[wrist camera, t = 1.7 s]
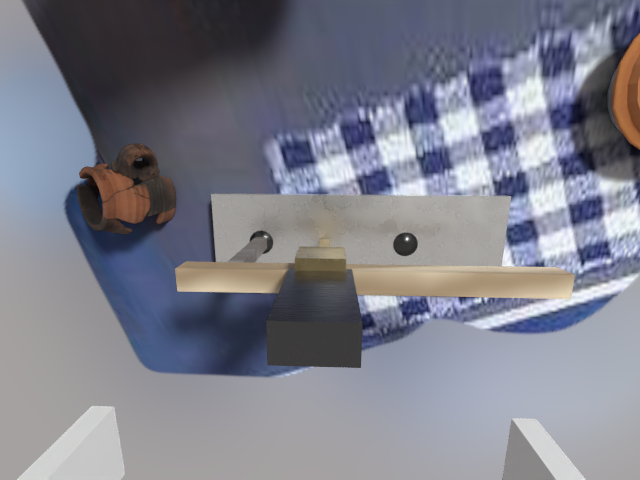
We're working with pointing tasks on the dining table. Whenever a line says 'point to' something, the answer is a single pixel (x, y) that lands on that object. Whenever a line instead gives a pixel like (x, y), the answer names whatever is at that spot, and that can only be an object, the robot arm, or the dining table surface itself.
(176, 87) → the dining table surface
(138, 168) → the broken clay pot
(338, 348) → the block
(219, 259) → the hole plate
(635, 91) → the pie
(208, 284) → the bar
